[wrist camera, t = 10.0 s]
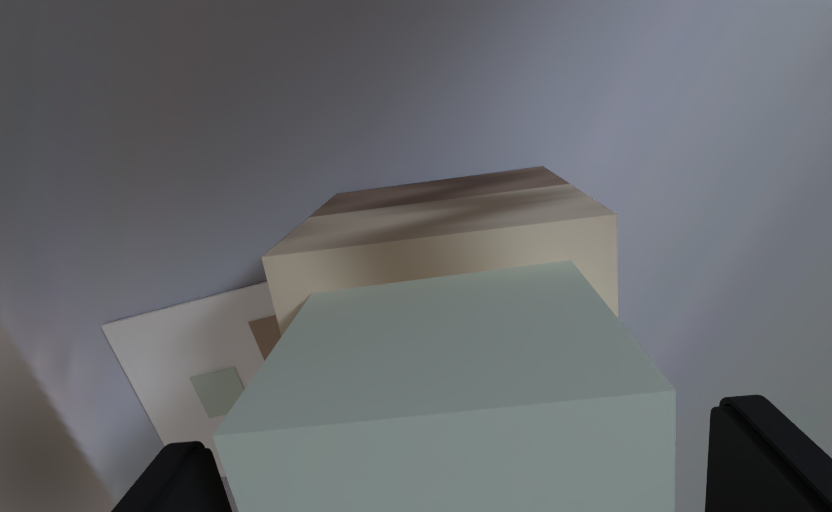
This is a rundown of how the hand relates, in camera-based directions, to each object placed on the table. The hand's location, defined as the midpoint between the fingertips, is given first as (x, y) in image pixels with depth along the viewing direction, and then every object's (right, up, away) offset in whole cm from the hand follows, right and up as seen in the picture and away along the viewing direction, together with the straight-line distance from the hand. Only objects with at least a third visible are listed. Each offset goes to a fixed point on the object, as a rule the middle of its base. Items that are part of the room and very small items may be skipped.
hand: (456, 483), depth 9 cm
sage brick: (0, +1, +3) cm, 3 cm away
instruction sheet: (-8, -1, +12) cm, 15 cm away
